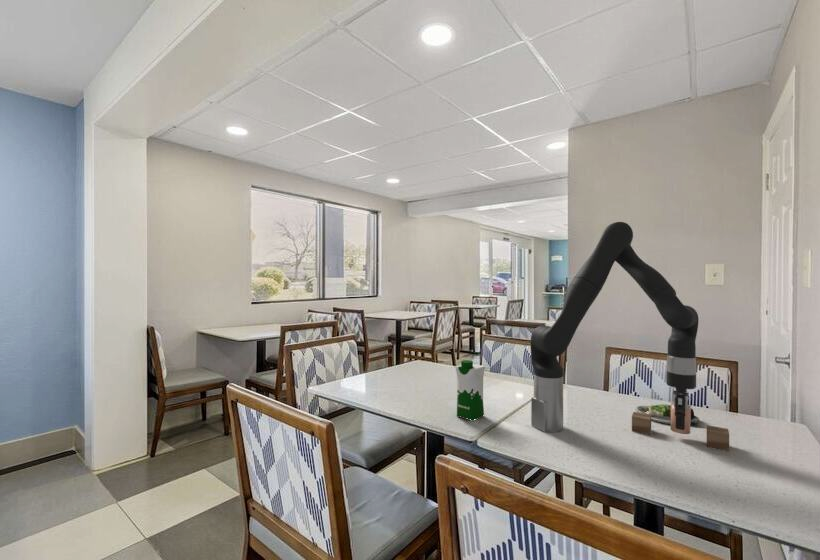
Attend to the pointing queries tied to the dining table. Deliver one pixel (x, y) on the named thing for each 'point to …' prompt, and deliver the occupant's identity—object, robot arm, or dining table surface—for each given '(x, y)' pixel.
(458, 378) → the milk carton
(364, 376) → the dining table surface
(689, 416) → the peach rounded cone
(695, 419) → the salad plate
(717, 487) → the dining table surface
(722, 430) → the front walnut cube
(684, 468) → the dining table surface
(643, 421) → the back walnut cube
